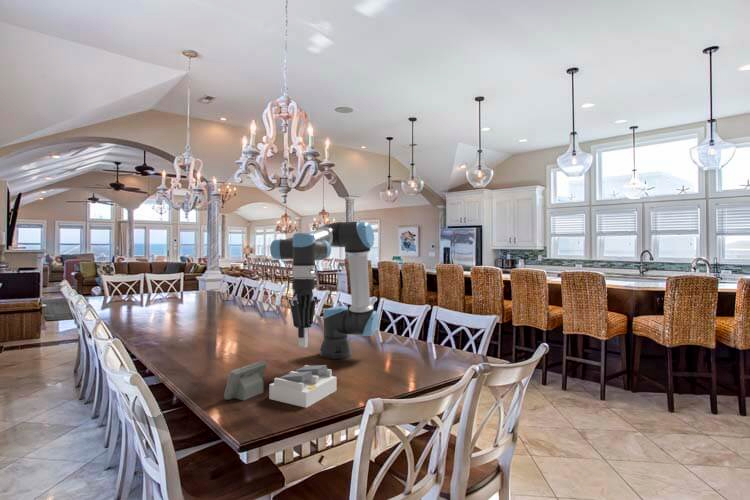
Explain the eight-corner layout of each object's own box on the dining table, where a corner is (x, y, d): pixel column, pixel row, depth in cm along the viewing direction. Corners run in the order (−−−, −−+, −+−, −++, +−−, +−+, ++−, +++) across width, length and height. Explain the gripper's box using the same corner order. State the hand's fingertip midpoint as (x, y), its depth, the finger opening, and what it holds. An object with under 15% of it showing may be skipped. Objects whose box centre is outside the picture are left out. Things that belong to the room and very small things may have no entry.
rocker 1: (280, 384, 140) (279, 377, 141) (290, 379, 145) (289, 373, 145) (302, 382, 136) (301, 375, 136) (312, 377, 141) (311, 371, 141)
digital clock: (259, 385, 154) (259, 358, 153) (273, 391, 148) (273, 362, 147) (218, 397, 142) (218, 367, 141) (231, 404, 136) (231, 373, 135)
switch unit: (269, 398, 141) (269, 377, 140) (301, 383, 156) (301, 364, 156) (306, 407, 133) (306, 385, 133) (336, 390, 149) (336, 370, 149)
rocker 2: (296, 376, 148) (295, 370, 149) (305, 372, 153) (305, 366, 153) (318, 375, 144) (317, 368, 144) (327, 370, 149) (326, 364, 149)
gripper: (300, 279, 131) (299, 352, 131) (323, 277, 143) (323, 344, 143) (282, 278, 135) (282, 349, 135) (306, 276, 146) (306, 341, 146)
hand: (303, 346), depth 139 cm, fingers closed
